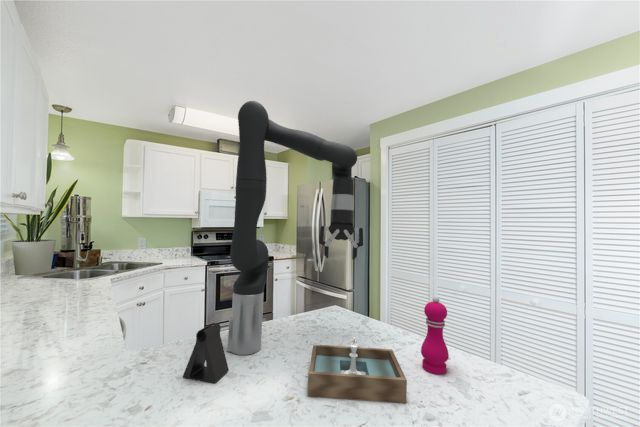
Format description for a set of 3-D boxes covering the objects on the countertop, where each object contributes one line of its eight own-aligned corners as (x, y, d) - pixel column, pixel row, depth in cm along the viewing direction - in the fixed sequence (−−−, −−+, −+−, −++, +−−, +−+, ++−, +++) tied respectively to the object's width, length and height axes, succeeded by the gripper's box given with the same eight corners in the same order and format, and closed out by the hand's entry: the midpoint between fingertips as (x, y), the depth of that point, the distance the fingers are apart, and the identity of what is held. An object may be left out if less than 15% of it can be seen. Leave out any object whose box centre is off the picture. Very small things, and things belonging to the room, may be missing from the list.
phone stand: (182, 378, 70) (185, 328, 70) (197, 366, 75) (200, 320, 76) (215, 384, 68) (218, 332, 68) (228, 371, 74) (231, 324, 74)
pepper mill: (447, 365, 82) (448, 295, 83) (449, 378, 75) (451, 301, 76) (420, 360, 84) (422, 292, 85) (420, 372, 77) (422, 297, 78)
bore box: (307, 396, 64) (308, 373, 65) (312, 362, 80) (313, 344, 81) (406, 403, 63) (406, 380, 64) (391, 367, 79) (392, 349, 79)
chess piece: (361, 384, 70) (363, 342, 71) (342, 381, 71) (343, 340, 72) (362, 374, 75) (364, 335, 76) (344, 371, 76) (345, 333, 77)
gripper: (320, 207, 90) (317, 258, 90) (365, 209, 90) (363, 261, 89) (321, 208, 98) (319, 256, 97) (362, 210, 97) (361, 258, 97)
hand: (340, 258), depth 93 cm, fingers open, 8 cm apart
